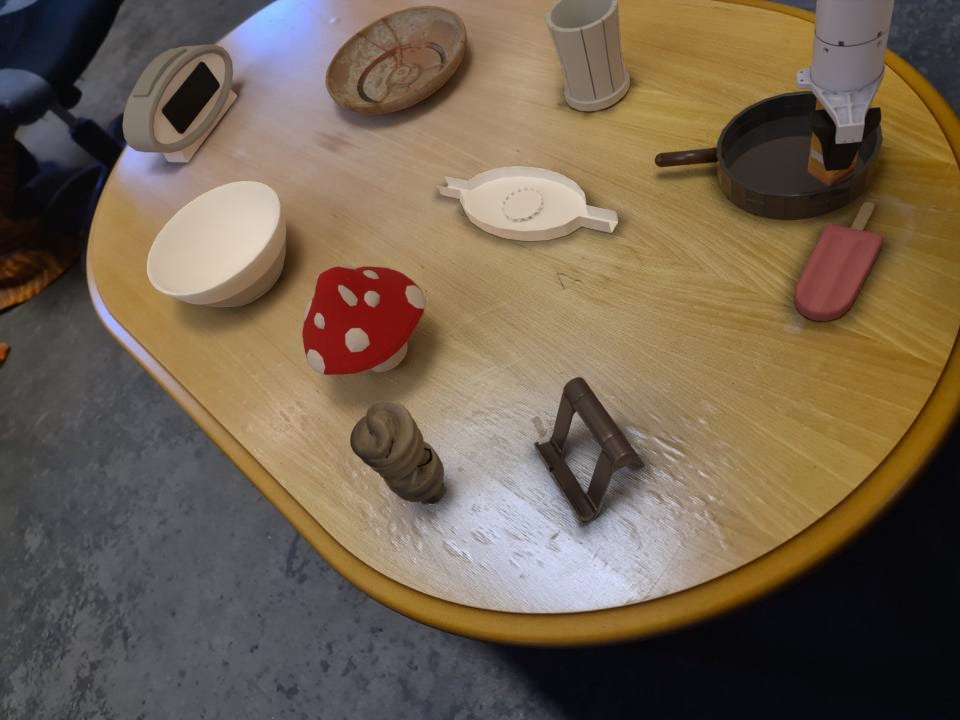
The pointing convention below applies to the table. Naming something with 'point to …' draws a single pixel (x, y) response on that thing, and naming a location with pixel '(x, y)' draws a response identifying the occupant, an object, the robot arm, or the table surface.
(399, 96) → the ceramic bowl
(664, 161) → the pan handle
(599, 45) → the cup
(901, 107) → the table surface
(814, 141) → the supplement box
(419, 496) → the brown twisted statue
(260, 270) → the bowl
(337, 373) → the decorative mushroom
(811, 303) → the popsicle
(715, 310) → the table surface
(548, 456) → the tablet stand
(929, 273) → the table surface
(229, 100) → the alarm clock
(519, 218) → the shallow oval tray
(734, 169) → the pan
